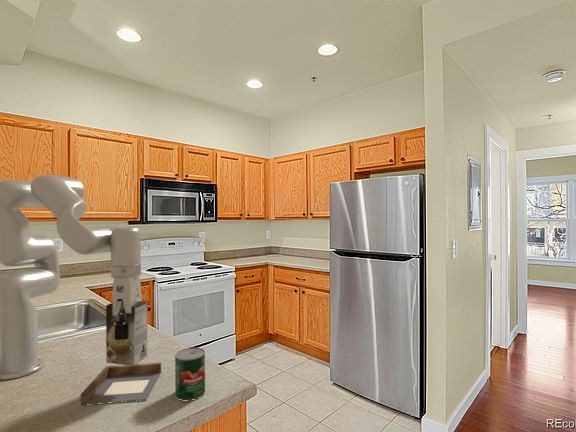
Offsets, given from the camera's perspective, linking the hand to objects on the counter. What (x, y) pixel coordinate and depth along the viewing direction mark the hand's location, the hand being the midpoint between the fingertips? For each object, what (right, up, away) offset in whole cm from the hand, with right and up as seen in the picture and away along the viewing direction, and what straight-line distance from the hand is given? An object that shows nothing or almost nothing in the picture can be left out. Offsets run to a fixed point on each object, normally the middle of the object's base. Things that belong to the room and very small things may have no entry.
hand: (127, 333), depth 94 cm
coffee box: (0, -8, 0) cm, 8 cm away
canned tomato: (+19, -16, -3) cm, 24 cm away
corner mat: (-1, -16, +1) cm, 16 cm away
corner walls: (-1, -16, +1) cm, 16 cm away
